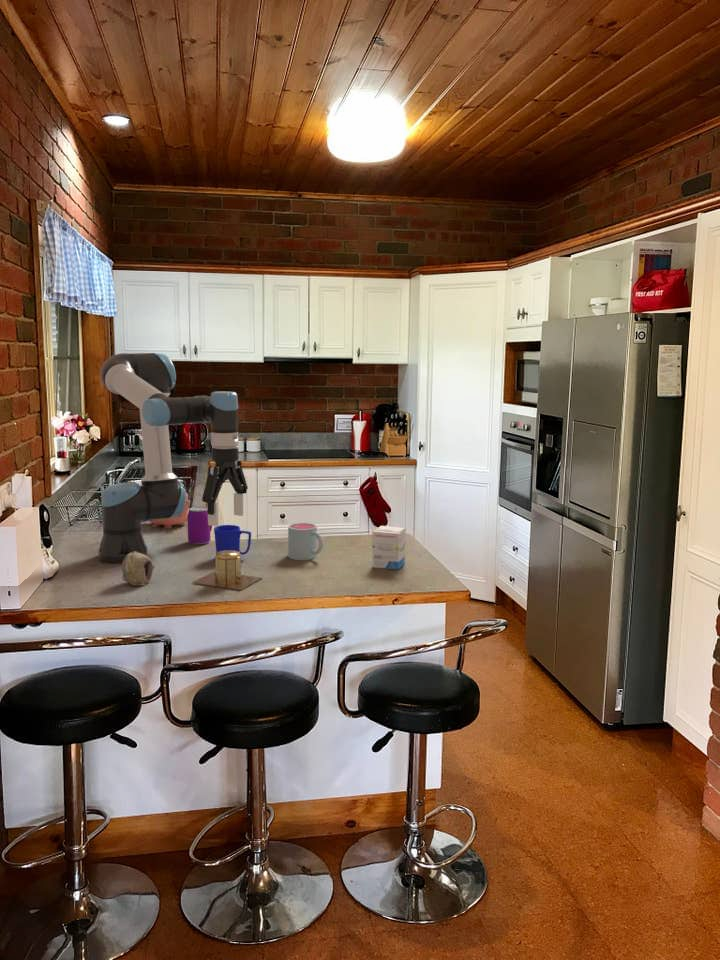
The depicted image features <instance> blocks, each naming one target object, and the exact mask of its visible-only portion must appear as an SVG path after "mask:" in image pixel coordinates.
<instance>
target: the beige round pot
mask: <svg viewBox="0 0 720 960" xmlns="http://www.w3.org/2000/svg"><path fill="white" fill-rule="evenodd" d="M154 569H155V565H154V564H153V562H152V560H151V558H150V557H149V556H148V555H147V556H146V555H144V554H141V553H138V552H135V551H134V552H133V553H129V554H128V555H127V556H126V557H125V558H124V560H123V563H121V572H122V576H121V580H122V581H123V582H126V583H128V584H130V585H131V586H146V585H147V584H148V583H149V582H150V580H151V579H152V576H153V571H154Z"/></svg>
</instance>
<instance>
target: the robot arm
mask: <svg viewBox="0 0 720 960" xmlns="http://www.w3.org/2000/svg"><path fill="white" fill-rule="evenodd" d="M99 377H100V381H101V383H102V385H103V386H104V388H106V389H107V390H108V391H110V392H111V393H113V394H115V395H120V396H122V397H123V398H124V399H126V400H127V401H129V402H130V403H131V404H132V405H134V406H135V407H137V408H138V409H139V418H140V427H141V428H140V429H141V430H140V431H141V440H142V451H143V461H144V472H145V473H144V474H145V475H144V476H143V477H142V479H141V482H140V483H141V485H139V483H138V482H134V481H128V482H119V483H115V484H112V485H109V486H106V487H105V488H104V489H103V490H102V492H101V502H100V506H101V515H102V516H101V518H102V538H101V541H100V544H99V545H100V546H99V548H98V554H97V555H98V560H99V561H101V562H104V563H114V564H115V563H117V564H118V563H121V564H122V563H123V560H124V558H125V557H126V556H127V555H128V554H129V553H133V552H134V551H135V552H138V553H141V554H144V555H146V556H147V557H148V552H149V551H148V546H147V545H146V542H145V539H144V535H143V534H142V523H144V522H145V523H146V522H150V521H153V520H159V519H169V518H172V517H177V516H179V515H180V514H181V513H182V512H183V510H184V508H185V505H186V493H187V491H186V488H185V485H184V483H182V482H181V481H179V480H178V479H179V478H178V477H179V476H177V475H176V474H175V473H174V472H173V467H172V466H173V465H172V455H171V453H172V452H171V442H170V430H169V429H170V428H169V426H174V425H175V426H177V425H189V424H191V425H192V424H210V427H211V428H210V435H211V436H210V445H211V447H212V448H211V461H213V462H214V463H215V464H214V466H208V469H207V478H206V482H205V485H204V490H203V493H202V499H201V501H202V502H203V503H206V504H207V506H206V507H207V510H208V525H210V527H211V526H213V527H217V526H219V522H218V521H219V514H218V511H219V508H218V507H219V506H218V502H217V499H218V496H219V494H220V491H221V489H222V487H223V484H224V483H226V481H229V483H230V484H231V486H232V489H233V490H234V491H235V493H233V515H234V516H237V517H239V516H240V517H243V516H244V494H247V493H248V491H247V490H249V489H248V484H247V480H246V476H245V474H244V470H243V465H242V461H241V460H239V456H240V455H239V454H240V453H239V452H240V451H239V450H240V449H239V448H238V446H239V438H240V437H239V402H238V401H239V399H238V398H239V397H238V394H237V392H235V391H229V390H228V391H223V390H222V391H219V390H218V391H212V392H211V393H210V396H208V395H195V396H190V397H189V396H188V397H187V396H186V397H170V395H171V390H172V389H174V387H175V385H176V381H177V373H176V369H175V365H174V363H173V362H172V359H170V357H169V356H167V355H166V354H164V353H156V352H140V353H138V352H137V353H126V352H125V353H118V354H117V353H116V354H114V355H112V356H110V357H108V358H107V359H106V360H105V361H104V363H103V364H102V365H101V369H100V372H99Z"/></svg>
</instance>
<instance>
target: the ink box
mask: <svg viewBox="0 0 720 960" xmlns="http://www.w3.org/2000/svg"><path fill="white" fill-rule="evenodd" d="M371 534H372V539H371V540H372V548H371V549H372V561H371V562H372V563H371V564H372V565H371V566H372V568H373V569H374V568H376V569H377V568H378V569H388V570H395V571H397V570H399V569H401V567H403V566H404V565H405V563H406V562H405V561H406V528H405V527H397V526H388V525H380V526H379V527H377V528H376V529H374V530H373V531H372V533H371Z"/></svg>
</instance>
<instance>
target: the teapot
mask: <svg viewBox="0 0 720 960" xmlns="http://www.w3.org/2000/svg"><path fill="white" fill-rule="evenodd" d="M188 498H189V494H188V493H187V492H186V505H185V508H184V510H183V512H182V513H181V514H180V515H179V516H177V517H172V518H169V519H159V520H153V521H149V522H150V523H151V524H152V525H151V527H154V528H156V527H157V528H158V527H160V525H161V526H162V525H163V526H164V529H165V530H172V529H173V526H174V525H177V526H180V527H181V526H185V525H186V524H185V523H186V522H187V515H188V512H189V509H190V505H191V502H192V501H191V500H189V499H188ZM172 525H173V526H172Z"/></svg>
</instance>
